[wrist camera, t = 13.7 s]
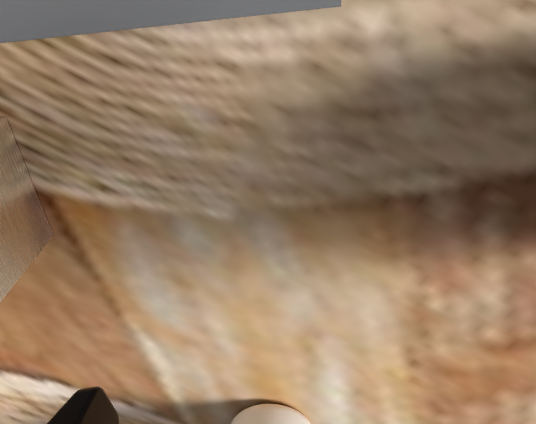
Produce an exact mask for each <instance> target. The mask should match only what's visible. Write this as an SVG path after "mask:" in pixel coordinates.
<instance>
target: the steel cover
mask: <svg viewBox="0 0 536 424" xmlns="http://www.w3.org/2000/svg"><path fill="white" fill-rule="evenodd" d="M52 236H53V232H52V230H51V227H50V225H49V223H48V220H47V218H46V215H45V213H44V210H43V208H42V205H41V203H40V200H39V198H38V195H37V193H36V190H35V188H34V185H33V183H32V180H31V178H30V175H29V173H28V170H27V168H26V166H25V163H24V161H23V158H22V156H21V153H20V151H19V148H18V146H17V143H16V141H15V138H14V136H13V133H12V131H11V128H10V126H9V123H8V121H7V118H6V117H1V118H0V302H1V301H2V299H3V298H4V297H5V296H6V294H7V293H8V292H9V291H10V289H11V288H12V287H13V286H14V284H15V283H16V282H17V281H18V279H19V278H20V277H21V275H22V274H23V273H24V272H25V270H26V269H27V268H28V267H29V265H30V264H31V263H32V262H33V260H34V259H35V258H36V257H37V255H38V254H39V253H40V252H41V250H42V249H43V248H44V247H45V245H46V244H47V243H48V241H49V240H50V239H51V238H52Z"/></svg>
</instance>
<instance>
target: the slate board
mask: <svg viewBox="0 0 536 424" xmlns="http://www.w3.org/2000/svg"><path fill="white" fill-rule="evenodd" d="M339 6H341V0H0V43H6V42H15V41H24V40H34V39H43V38H52V37H61V36H71V35H80V34H89V33H98V32H108V31H117V30H126V29H136V28H145V27H154V26H163V25H173V24H182V23H191V22H200V21H210V20H219V19H228V18H237V17H247V16H256V15H265V14H275V13H284V12H293V11H302V10H312V9H321V8H330V7H339Z"/></svg>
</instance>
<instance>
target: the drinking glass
mask: <svg viewBox="0 0 536 424" xmlns="http://www.w3.org/2000/svg"><path fill="white" fill-rule="evenodd" d="M231 424H311V423H310V421H309V420H308V419H307V418H306V417H305V416H304V415H303V414H301V413H300V412H298V411H297V410H295V409H293V408H290V407H287V406H284V405H279V404H259V405H254V406H251V407H248V408H246V409H244V410H242V411H241V412H240V413H238V414H237V415H236V416H235V417H234V419H233V420H232V422H231Z"/></svg>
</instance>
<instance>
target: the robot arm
mask: <svg viewBox="0 0 536 424" xmlns="http://www.w3.org/2000/svg"><path fill="white" fill-rule="evenodd" d="M47 424H119V418H118V414H117V412H116V410H115V408H114V407H113V405H112V403H111V402H110V400H109V398H108V397H107V395H106V393H105V392H104V390H103V389H102V388H100V387H91V388H85V389H80V390H78V391H77V392H76V393H75V394H73V396H72V397H71V398H70V399H69V400H68V401H67V402H66V403H65V404H64V406H63V407H62V408H61V409H60V410H59V411H58V412H57V413H56V414H55V416H54V417H53V418H52V419H51V420H50V421H49V422H48V423H47Z"/></svg>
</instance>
